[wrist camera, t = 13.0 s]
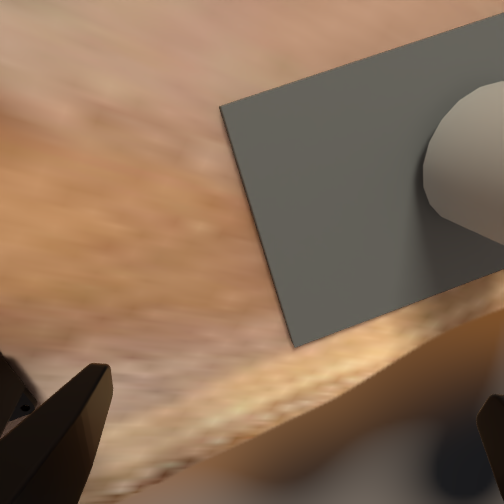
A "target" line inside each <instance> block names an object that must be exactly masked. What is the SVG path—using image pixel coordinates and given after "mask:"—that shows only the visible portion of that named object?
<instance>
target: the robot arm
mask: <svg viewBox="0 0 504 504" xmlns="http://www.w3.org/2000/svg"><path fill="white" fill-rule="evenodd" d="M112 395H113V384H112V375H111V368H110V366H109V365H108V364H100V363H91V364H89V365H88V366H86V367H85V368H84V369H83V370H82V371H81V372H79V373H78V374H77V375H76V376H75V377H73V378H72V379H71V380H70V381H69V382H68V383H66V384H65V385H64V386H63V387H62V388H60V389H59V390H58V391H57V392H56V393H55V394H53V395H52V396H51V397H50V398H49V399H47V400H46V401H45V402H44V403H43V404H42V405H40V406H39V407H38V408H37V409H36V410H35V408H36V405H37V401H36V399H35V398H34V397H33V396H32V394H31V393H30V392H29V391H28V389H27V388H26V387H25V385H24V384H23V383H22V381H21V380H20V379H19V377H18V376H17V375H16V374H15V372H14V371H13V370H12V369H11V367H10V366H9V365H8V364H7V362H6V361H5V360H4V359H3V357H2V356H0V437H1V435H2V433H3V431H4V429H5V427H6V425H7V423H8V422H9V421H12V420H15V419H17V418H20V417H23V416H25V415H28V414H30V415H29V416H27V417H26V418H25V419H24V420H23V421H22V422H20V423H19V424H18V425H17V426H16V427H14V428H13V429H12V430H11V431H10V432H9V433H7V434H6V435H5V436H4V437H3V438H1V439H0V504H78V501H79V499H80V496H81V494H82V492H83V489H84V487H85V484H86V482H87V479H88V476H89V474H90V471H91V468H92V465H93V462H94V459H95V456H96V452H97V449H98V445H99V442H100V438H101V435H102V431H103V428H104V424H105V421H106V417H107V414H108V410H109V407H110V403H111V400H112ZM25 405H28V406H25ZM34 410H35V411H34ZM476 421H477V422H476V423H477V427H478V430H479V433H480V436H481V439H482V442H483V445H484V448H485V451H486V454H487V456H488V459H489V462H490V465H491V468H492V471H493V474H494V477H495V480H496V483H497V485H498V488H499V491H500V494H501V496H502V498H503V501H504V395H499V394H492V395H490V396H489V397H488V399H487V400H486V402H485V404H484V405H483V407H482V408H481V410H480V411H479V413H478V415H477V418H476Z"/></svg>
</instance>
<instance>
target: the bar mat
mask: <svg viewBox="0 0 504 504" xmlns="http://www.w3.org/2000/svg"><path fill="white" fill-rule="evenodd" d="M500 81H504V13H501V14H498V15H495V16H492V17H489V18H486V19H483V20H479V21H476V22H473V23H470V24H467V25H464V26H461V27H458V28H455V29H452V30H449V31H446V32H443V33H440V34H437V35H434V36H431V37H428V38H425V39H422V40H419V41H416V42H413V43H410V44H407V45H404V46H401V47H398V48H395V49H392V50H389V51H386V52H383V53H380V54H377V55H374V56H371V57H367V58H364V59H361V60H358V61H355V62H352V63H349V64H346V65H343V66H340V67H337V68H334V69H331V70H328V71H325V72H322V73H319V74H316V75H313V76H310V77H307V78H304V79H301V80H298V81H295V82H292V83H289V84H286V85H283V86H280V87H277V88H274V89H271V90H268V91H265V92H262V93H258V94H255V95H252V96H249V97H246V98H243V99H240V100H237V101H234V102H231V103H228V104H225V105H222V106H219V108H220V111H221V114H222V118H223V121H224V124H225V127H226V131H227V134H228V137H229V140H230V144H231V147H232V150H233V153H234V156H235V160H236V163H237V166H238V169H239V173H240V176H241V179H242V182H243V186H244V189H245V192H246V195H247V199H248V202H249V205H250V208H251V212H252V215H253V218H254V221H255V225H256V228H257V231H258V234H259V237H260V241H261V244H262V247H263V250H264V254H265V257H266V260H267V263H268V267H269V270H270V273H271V276H272V280H273V283H274V286H275V289H276V293H277V296H278V299H279V302H280V305H281V309H282V312H283V315H284V318H285V322H286V325H287V328H288V331H289V335H290V338H291V341H292V343H293V345H294V347H298V346H301V345H303V344H306V343H309V342H311V341H314V340H317V339H319V338H322V337H325V336H327V335H330V334H333V333H335V332H338V331H341V330H343V329H346V328H349V327H351V326H354V325H357V324H359V323H362V322H364V321H367V320H370V319H372V318H375V317H378V316H380V315H383V314H386V313H388V312H391V311H394V310H396V309H399V308H402V307H404V306H407V305H410V304H412V303H415V302H418V301H420V300H423V299H426V298H428V297H431V296H433V295H436V294H439V293H441V292H444V291H447V290H449V289H452V288H455V287H457V286H460V285H463V284H465V283H468V282H471V281H473V280H476V279H479V278H481V277H484V276H487V275H489V274H492V273H494V272H497V271H500V270H502V269H504V245H502V244H500V243H498V242H496V241H493V240H491V239H489V238H487V237H485V236H482V235H480V234H478V233H476V232H474V231H471V230H469V229H467V228H465V227H463V226H460V225H458V224H456V223H454V222H452V221H449V220H447V219H445V218H443V217H441V216H440V215H439V214H438V213H437V212H436V211H435V210H434V208H433V207H432V206H431V205H430V204H429V201H428V198H427V195H426V193H425V190H424V187H423V164H424V160H425V156H426V153H427V149H428V145H429V142H430V140H431V138H432V136H433V134H434V133H435V131H436V129H437V127H438V125H439V123H440V122H441V120H442V119H443V118H444V116H445V115H446V114H447V113H448V112H449V111H450V110H451V109H452V108H453V107H454V105H455V104H456V103H457V102H458V101H459V100H461V99H462V98H464V97H465V96H467V95H468V94H470V93H471V92H473V91H474V90H476V89H478V88H479V87H482V86H485V85H489V84H493V83H496V82H500Z"/></svg>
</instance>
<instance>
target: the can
mask: <svg viewBox="0 0 504 504" xmlns="http://www.w3.org/2000/svg"><path fill="white" fill-rule="evenodd" d="M423 187H424V190H425V193H426V195H427V198H428V201H429V204H430V205H431V206H432V207H433V208H434V210H435V211H436V212H437V213H438V214H439V215H440V216H441V217H443V218H445V219H447V220H449V221H452V222H454V223H456V224H458V225H460V226H463V227H465V228H467V229H469V230H471V231H474V232H476V233H478V234H480V235H482V236H485V237H487V238H489V239H491V240H493V241H496V242H498V243H500V244H502V245H504V81H500V82H496V83H493V84H489V85H485V86H482V87H479V88H478V89H476V90H474V91H473V92H471V93H470V94H468V95H467V96H465V97H464V98H462V99H461V100H459V101H458V102H457V103H456V104H455V105H454V107H453V108H452V109H451V110H450V111H449V112H448V113H447V114H446V115H445V116H444V118H443V119H442V120H441V122H440V123H439V125H438V127H437V129H436V131H435V133H434V134H433V136H432V138H431V140H430V142H429V145H428V149H427V153H426V156H425V160H424V164H423Z"/></svg>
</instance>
